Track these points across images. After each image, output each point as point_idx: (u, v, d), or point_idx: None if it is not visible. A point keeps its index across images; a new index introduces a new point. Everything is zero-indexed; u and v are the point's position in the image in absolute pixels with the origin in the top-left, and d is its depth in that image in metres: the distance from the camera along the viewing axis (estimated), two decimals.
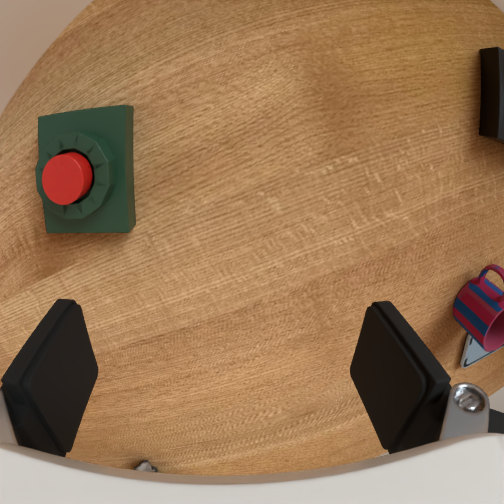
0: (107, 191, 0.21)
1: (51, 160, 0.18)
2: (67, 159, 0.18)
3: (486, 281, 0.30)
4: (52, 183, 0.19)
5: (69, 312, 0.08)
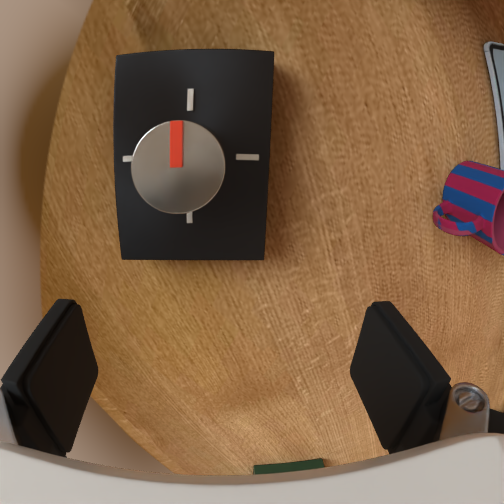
0: None
1: None
2: None
3: (452, 196, 0.23)
4: None
5: (69, 312, 0.08)
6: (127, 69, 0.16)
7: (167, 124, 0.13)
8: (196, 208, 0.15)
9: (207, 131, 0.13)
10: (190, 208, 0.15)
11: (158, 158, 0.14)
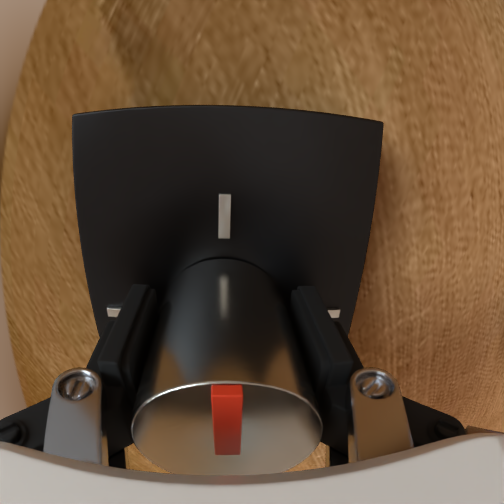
0: None
1: None
2: None
3: None
4: None
5: (148, 296, 0.09)
6: (95, 145, 0.09)
7: (202, 389, 0.05)
8: None
9: (297, 398, 0.06)
10: None
11: (187, 435, 0.06)
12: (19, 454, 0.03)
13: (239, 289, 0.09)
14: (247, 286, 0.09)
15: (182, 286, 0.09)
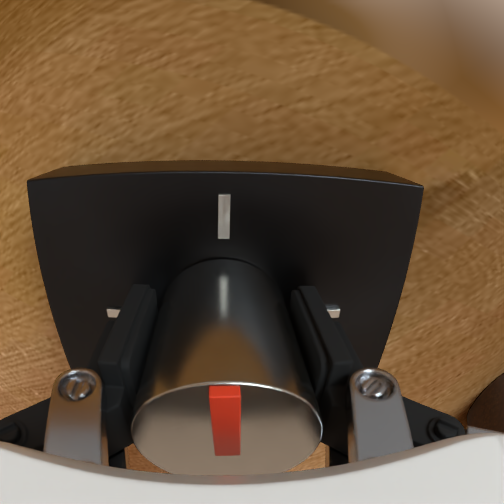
0: None
1: None
2: None
3: None
4: None
5: (148, 296, 0.09)
6: (396, 207, 0.10)
7: (200, 390, 0.05)
8: None
9: (296, 398, 0.06)
10: None
11: (187, 436, 0.06)
12: (19, 454, 0.03)
13: (238, 290, 0.09)
14: (245, 286, 0.09)
15: (181, 287, 0.09)
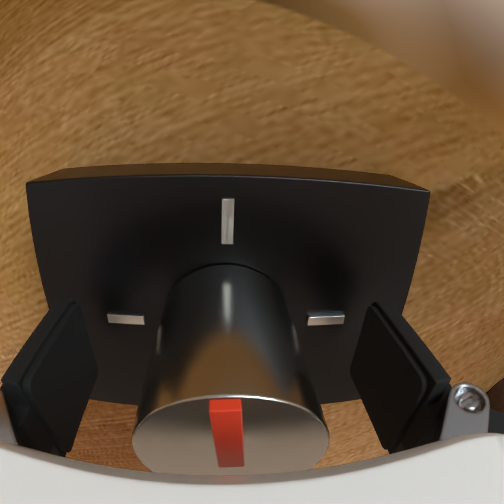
0: None
1: None
2: None
3: None
4: None
5: (69, 312, 0.08)
6: (402, 213, 0.10)
7: (200, 403, 0.05)
8: None
9: (300, 409, 0.05)
10: None
11: (189, 448, 0.06)
12: (19, 454, 0.03)
13: (239, 296, 0.08)
14: (247, 292, 0.09)
15: (181, 295, 0.09)
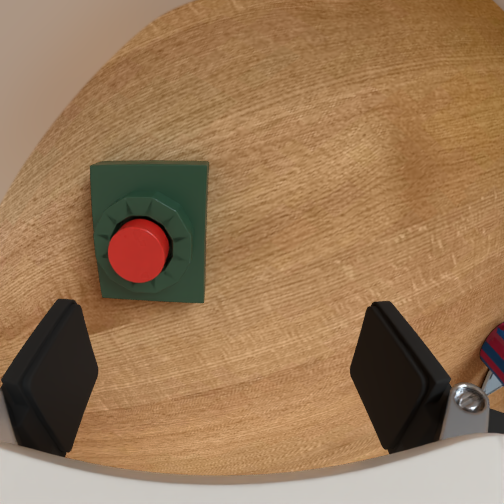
0: (187, 266, 0.20)
1: (121, 232, 0.17)
2: (143, 234, 0.17)
3: None
4: (122, 258, 0.18)
5: (69, 312, 0.08)
6: None
7: None
8: None
9: None
10: None
11: None
12: (19, 454, 0.03)
13: None
14: None
15: None
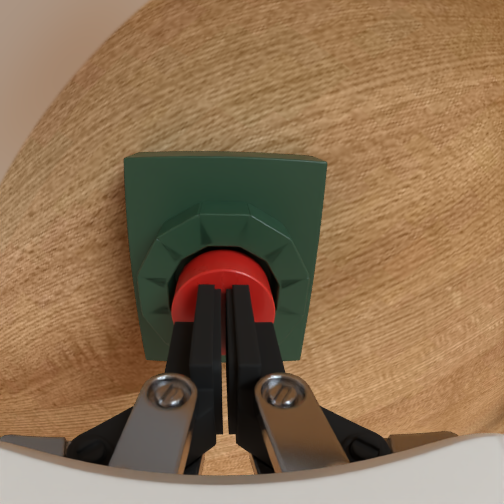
0: None
1: (198, 278, 0.10)
2: (242, 280, 0.10)
3: None
4: None
5: (218, 296, 0.10)
6: None
7: None
8: None
9: None
10: None
11: None
12: (19, 454, 0.03)
13: None
14: None
15: None
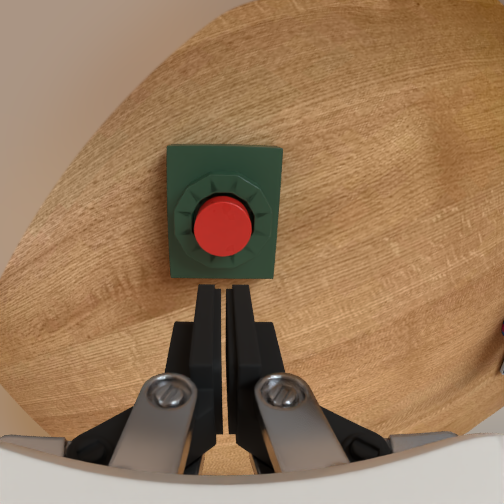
0: None
1: (210, 206, 0.19)
2: (233, 208, 0.19)
3: None
4: (209, 232, 0.20)
5: (218, 296, 0.10)
6: None
7: None
8: None
9: None
10: None
11: None
12: (19, 454, 0.03)
13: None
14: None
15: None
